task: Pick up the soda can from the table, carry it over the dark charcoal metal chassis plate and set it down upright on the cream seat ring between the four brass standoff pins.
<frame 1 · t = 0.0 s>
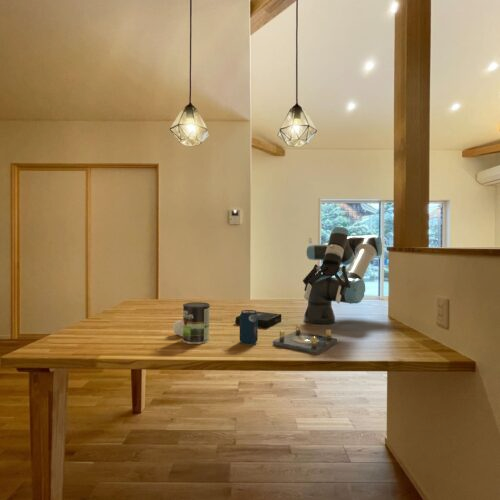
hand: (321, 300, 129), 15 cm above the table, tool tilted 35°, fingers open, 13 cm apart
soda can: (248, 343, 121), on the table
chassis plate: (305, 343, 120), on the table
portable cd player: (258, 324, 155), on the table
duck figurine: (187, 335, 132), on the table
coffee can: (196, 340, 124), on the table
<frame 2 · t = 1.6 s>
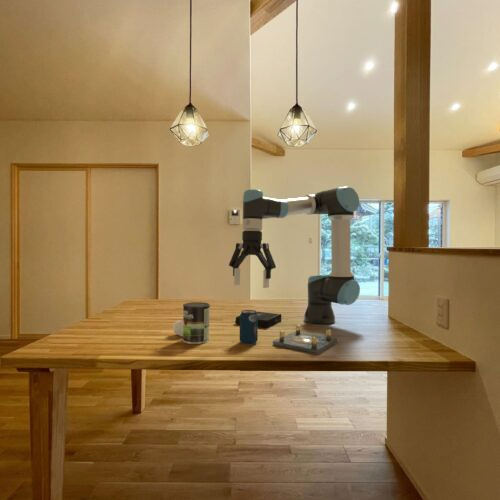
hand: (250, 286, 121), 22 cm above the table, tool pointing down, fingers open, 13 cm apart
nothing on the table moved.
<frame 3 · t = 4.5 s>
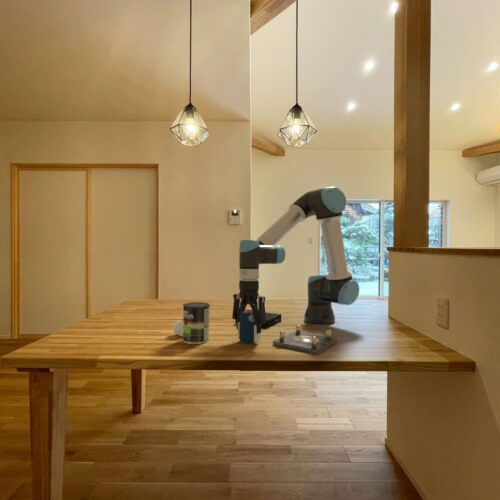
hand: (248, 339, 121), 1 cm above the table, tool pointing down, fingers closed on soda can, 7 cm apart
soda can: (248, 343, 121), on the table, touching gripper
everything else where it was.
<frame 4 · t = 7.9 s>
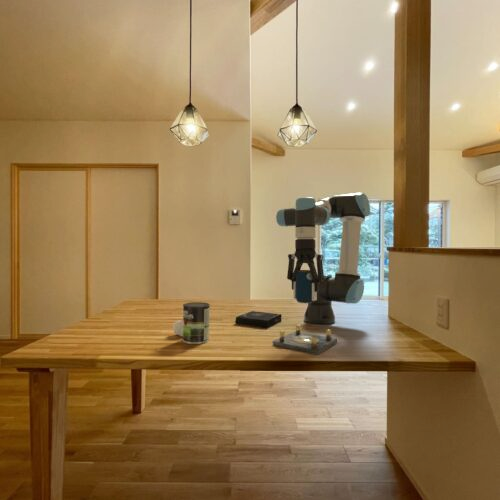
hand: (305, 299, 121), 17 cm above the table, tool pointing down, fingers closed on soda can, 7 cm apart
soda can: (304, 302, 121), point 16 cm above the table, touching gripper
everything else where it was.
when the fingers open (4 cm above the table, at t = 11.2 s): soda can drops 1 cm, resting on chassis plate.
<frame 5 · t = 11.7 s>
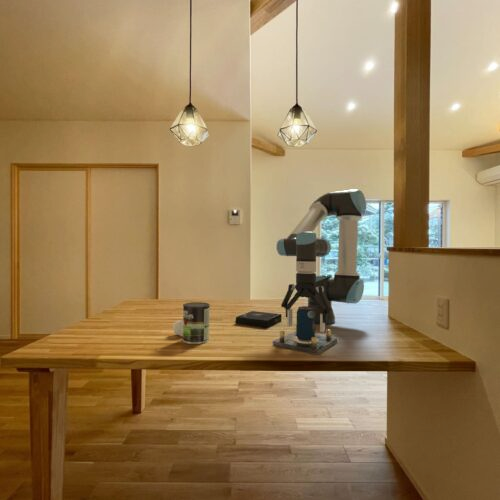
hand: (305, 328, 120), 6 cm above the table, tool pointing down, fingers open, 13 cm apart
soda can: (305, 339, 120), point 2 cm above the table, touching chassis plate
everything else where it was.
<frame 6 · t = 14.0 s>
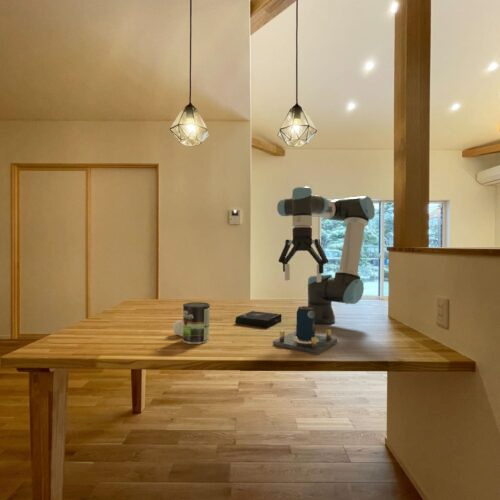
hand: (302, 281, 125), 23 cm above the table, tool pointing down, fingers open, 13 cm apart
nothing on the table moved.
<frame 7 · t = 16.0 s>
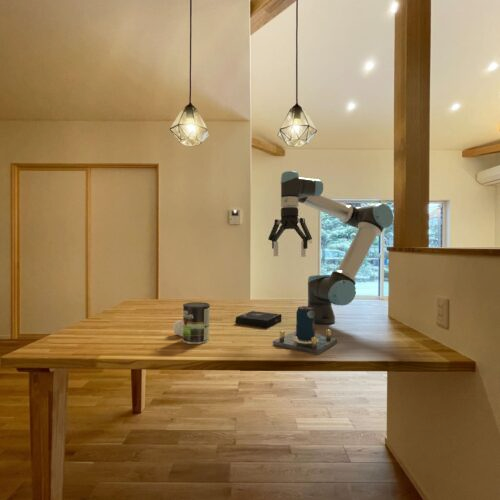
hand: (289, 256, 138), 33 cm above the table, tool pointing down, fingers open, 13 cm apart
nothing on the table moved.
at the end: soda can 0.0 cm off-centre on the chassis plate, point 1.5 cm above the chassis plate's base; soda can tilted 0°; the gripper is holding nothing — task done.
